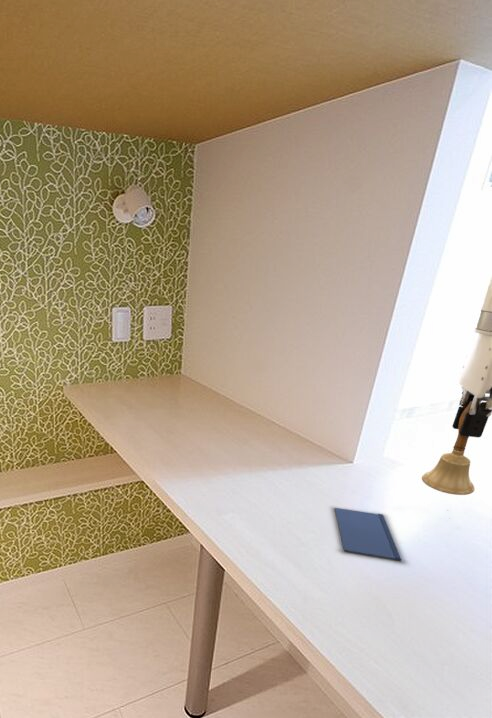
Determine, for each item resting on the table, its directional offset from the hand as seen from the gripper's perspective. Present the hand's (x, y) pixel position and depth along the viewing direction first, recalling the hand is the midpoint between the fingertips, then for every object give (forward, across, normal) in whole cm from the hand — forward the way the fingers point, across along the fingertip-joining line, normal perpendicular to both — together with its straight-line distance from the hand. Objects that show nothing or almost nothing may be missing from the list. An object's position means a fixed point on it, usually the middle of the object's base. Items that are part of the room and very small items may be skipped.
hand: (466, 431), depth 76 cm
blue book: (+24, +1, +11) cm, 27 cm away
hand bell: (+11, 0, 0) cm, 11 cm away
